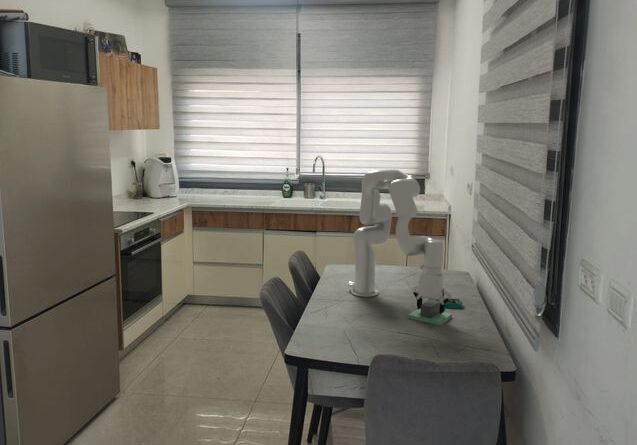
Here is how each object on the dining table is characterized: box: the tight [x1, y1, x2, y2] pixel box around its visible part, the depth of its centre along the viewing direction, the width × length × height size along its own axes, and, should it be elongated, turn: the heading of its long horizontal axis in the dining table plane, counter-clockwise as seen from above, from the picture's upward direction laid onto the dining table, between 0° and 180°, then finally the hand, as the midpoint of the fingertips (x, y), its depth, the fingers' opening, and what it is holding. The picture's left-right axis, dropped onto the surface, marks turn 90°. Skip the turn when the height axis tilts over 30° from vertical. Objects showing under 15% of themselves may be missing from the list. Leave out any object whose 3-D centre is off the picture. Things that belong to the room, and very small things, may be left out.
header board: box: [407, 308, 453, 326], centre depth 224 cm, size 14×12×4 cm
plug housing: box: [421, 299, 440, 319], centre depth 224 cm, size 4×9×5 cm, turn 145°
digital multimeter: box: [427, 297, 463, 310], centre depth 241 cm, size 7×15×3 cm, turn 79°
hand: (430, 310), depth 224 cm, fingers open, 9 cm apart
